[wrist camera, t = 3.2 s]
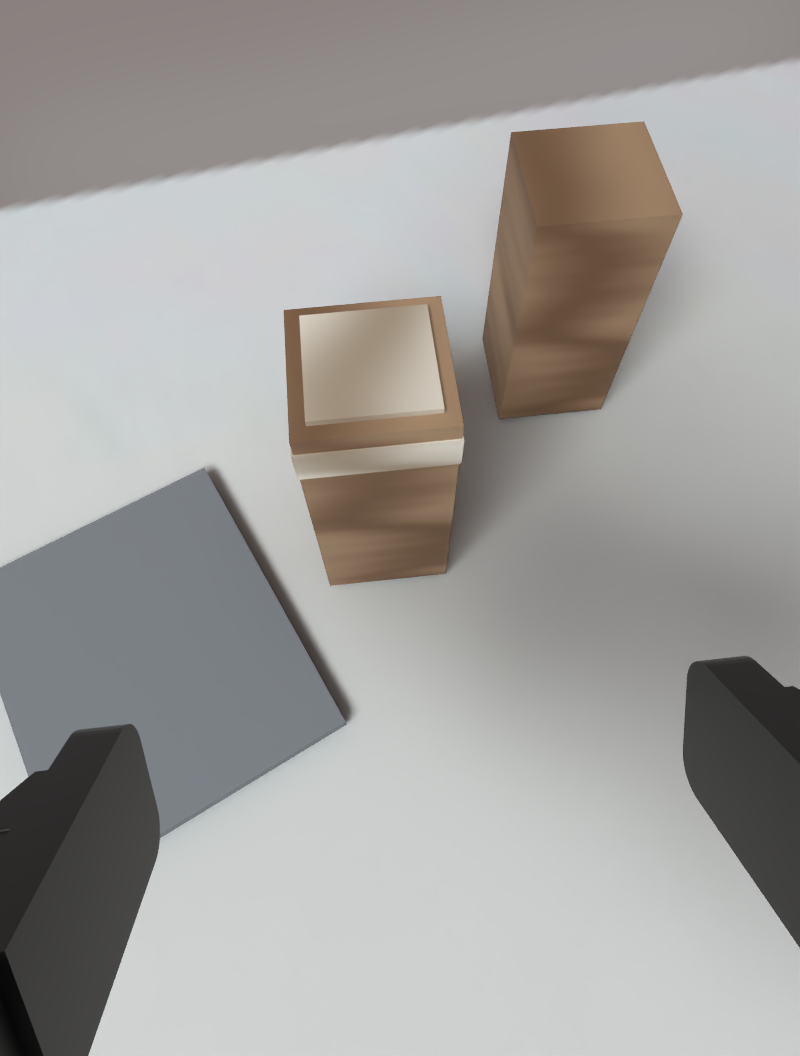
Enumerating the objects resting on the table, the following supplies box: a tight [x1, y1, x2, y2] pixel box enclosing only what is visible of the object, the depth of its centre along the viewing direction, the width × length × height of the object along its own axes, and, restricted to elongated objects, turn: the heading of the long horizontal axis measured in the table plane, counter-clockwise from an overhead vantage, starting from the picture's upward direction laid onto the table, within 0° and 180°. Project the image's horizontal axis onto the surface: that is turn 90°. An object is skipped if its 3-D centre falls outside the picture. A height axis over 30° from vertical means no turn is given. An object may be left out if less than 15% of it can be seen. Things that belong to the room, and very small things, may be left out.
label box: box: [284, 296, 464, 586], centre depth 23 cm, size 5×5×10 cm
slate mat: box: [0, 468, 346, 838], centre depth 25 cm, size 10×12×1 cm
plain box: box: [483, 122, 682, 419], centre depth 26 cm, size 4×4×10 cm
